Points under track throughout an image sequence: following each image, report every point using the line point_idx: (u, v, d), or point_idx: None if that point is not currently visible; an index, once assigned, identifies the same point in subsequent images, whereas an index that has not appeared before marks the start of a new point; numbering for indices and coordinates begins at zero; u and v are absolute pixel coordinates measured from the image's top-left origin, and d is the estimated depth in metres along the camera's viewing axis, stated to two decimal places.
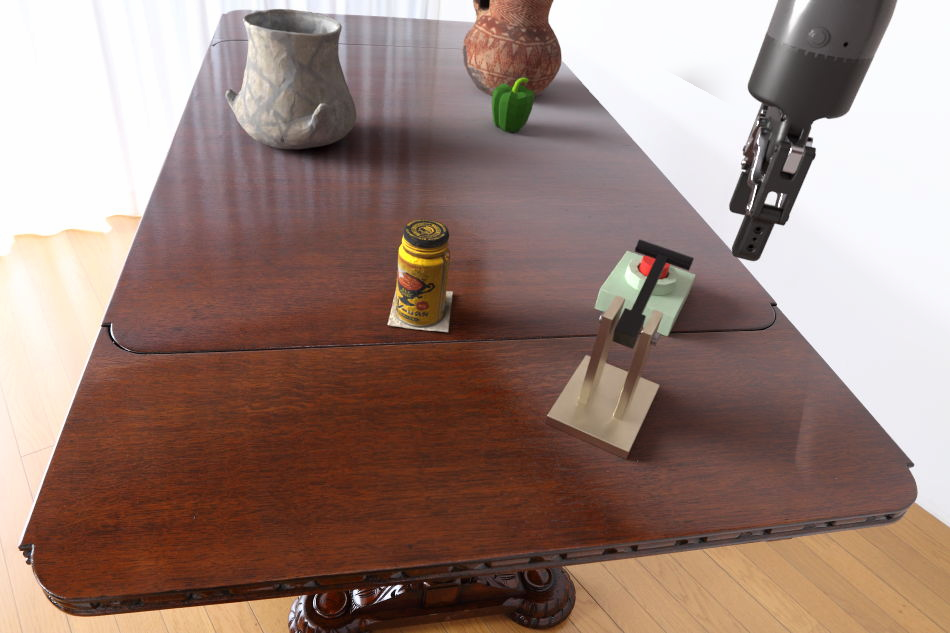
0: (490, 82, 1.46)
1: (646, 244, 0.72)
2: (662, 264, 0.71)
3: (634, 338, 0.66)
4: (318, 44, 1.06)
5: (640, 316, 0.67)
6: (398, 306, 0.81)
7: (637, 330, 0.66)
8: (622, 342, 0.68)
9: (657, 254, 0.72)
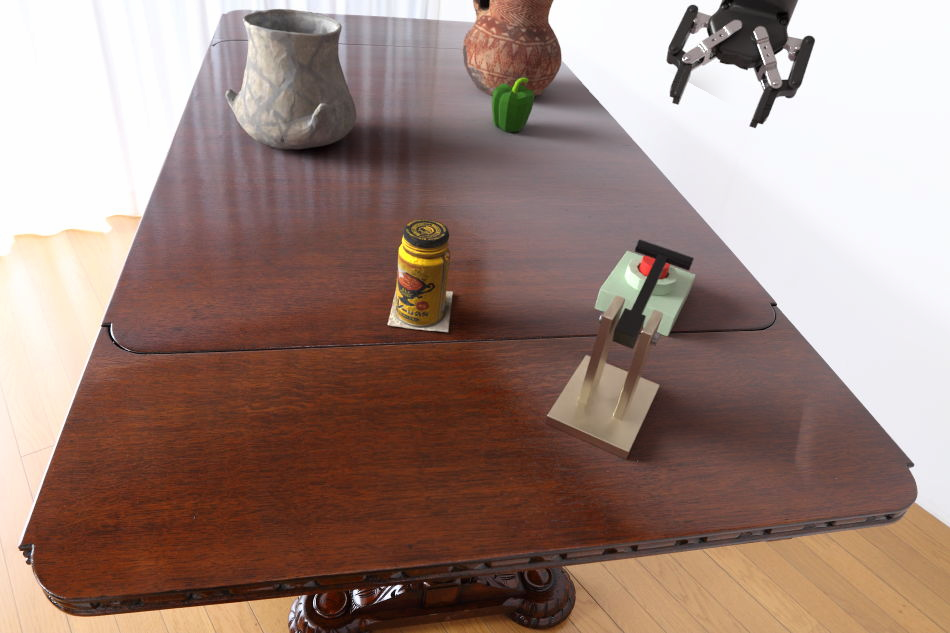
0: (490, 82, 1.46)
1: (646, 244, 0.72)
2: (662, 264, 0.71)
3: (634, 338, 0.66)
4: (318, 44, 1.06)
5: (640, 316, 0.67)
6: (398, 306, 0.81)
7: (637, 330, 0.66)
8: (622, 342, 0.68)
9: (657, 254, 0.72)
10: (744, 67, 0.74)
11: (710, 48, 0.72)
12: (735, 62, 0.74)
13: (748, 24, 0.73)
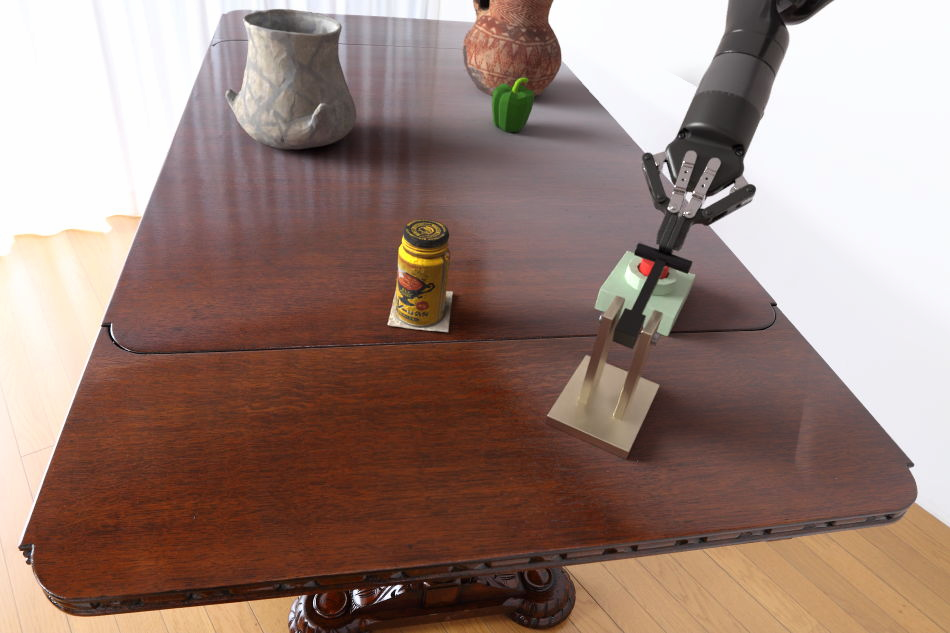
0: (490, 82, 1.46)
1: (645, 247, 0.73)
2: (662, 267, 0.71)
3: (634, 337, 0.66)
4: (318, 44, 1.06)
5: (640, 316, 0.67)
6: (398, 306, 0.81)
7: (637, 329, 0.66)
8: (622, 342, 0.68)
9: (656, 257, 0.72)
10: None
11: (686, 187, 0.72)
12: (692, 190, 0.73)
13: (704, 154, 0.72)
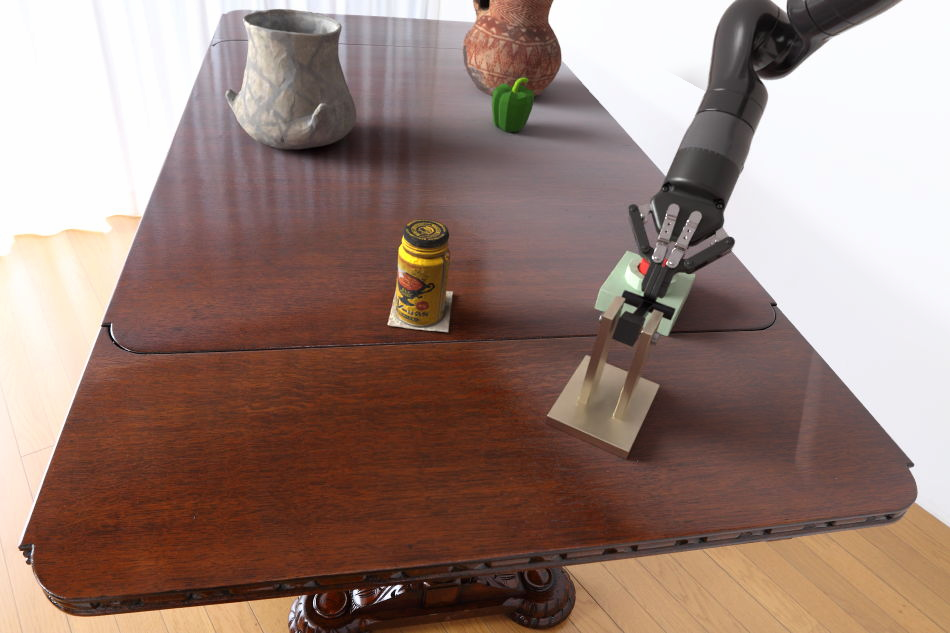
0: (490, 82, 1.46)
1: None
2: (649, 305, 0.75)
3: (638, 327, 0.66)
4: (318, 44, 1.06)
5: (641, 317, 0.68)
6: (398, 306, 0.81)
7: (641, 322, 0.67)
8: (623, 337, 0.67)
9: (643, 300, 0.76)
10: None
11: (669, 239, 0.76)
12: (675, 240, 0.78)
13: (686, 207, 0.76)
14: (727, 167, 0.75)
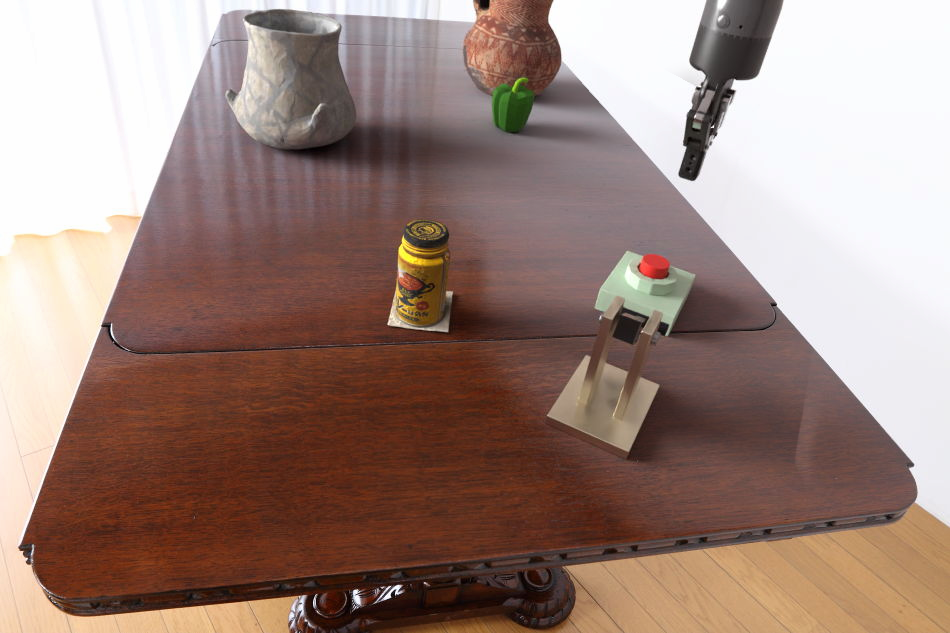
0: (490, 82, 1.46)
1: (626, 308, 0.78)
2: (644, 318, 0.75)
3: (640, 324, 0.66)
4: (318, 44, 1.06)
5: (640, 318, 0.68)
6: (398, 306, 0.81)
7: (641, 321, 0.67)
8: (623, 335, 0.67)
9: (637, 315, 0.77)
10: None
11: (718, 127, 0.77)
12: None
13: (727, 88, 0.75)
14: None
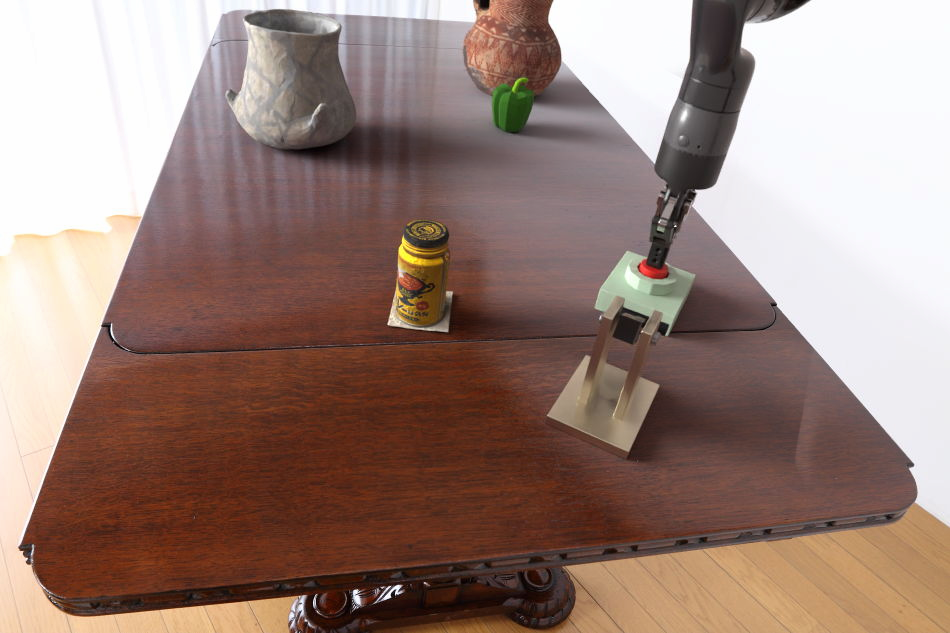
0: (490, 82, 1.46)
1: (626, 308, 0.78)
2: (644, 318, 0.75)
3: (640, 324, 0.66)
4: (318, 44, 1.06)
5: (640, 318, 0.68)
6: (398, 306, 0.81)
7: (641, 321, 0.67)
8: (623, 335, 0.67)
9: (637, 315, 0.77)
10: None
11: (681, 225, 0.84)
12: None
13: (688, 192, 0.82)
14: None
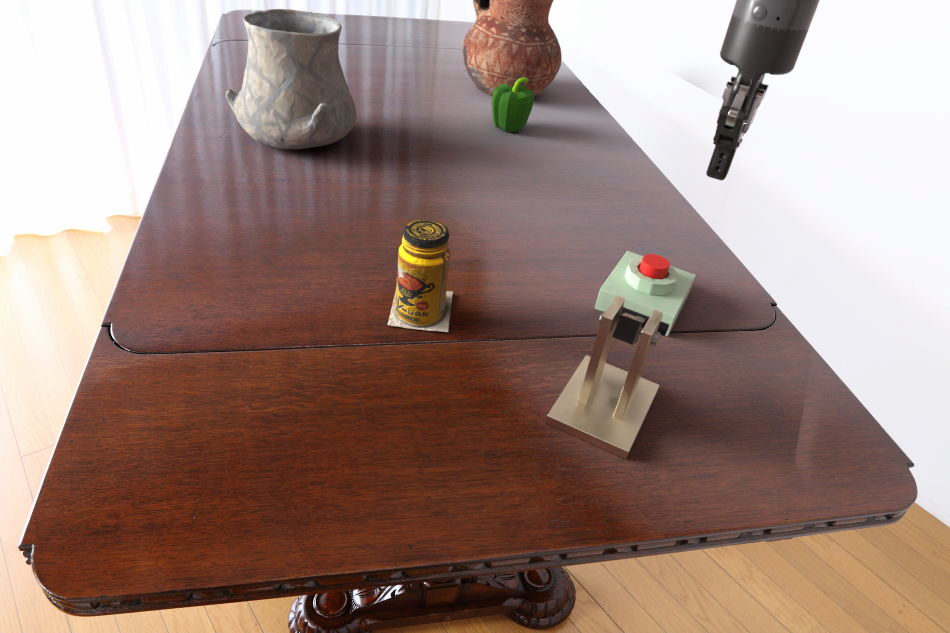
0: (490, 82, 1.46)
1: (626, 308, 0.78)
2: (644, 318, 0.75)
3: (640, 324, 0.66)
4: (318, 44, 1.06)
5: (640, 318, 0.68)
6: (398, 306, 0.81)
7: (641, 321, 0.67)
8: (623, 335, 0.67)
9: (637, 315, 0.77)
10: None
11: (749, 124, 0.73)
12: None
13: (759, 83, 0.71)
14: None
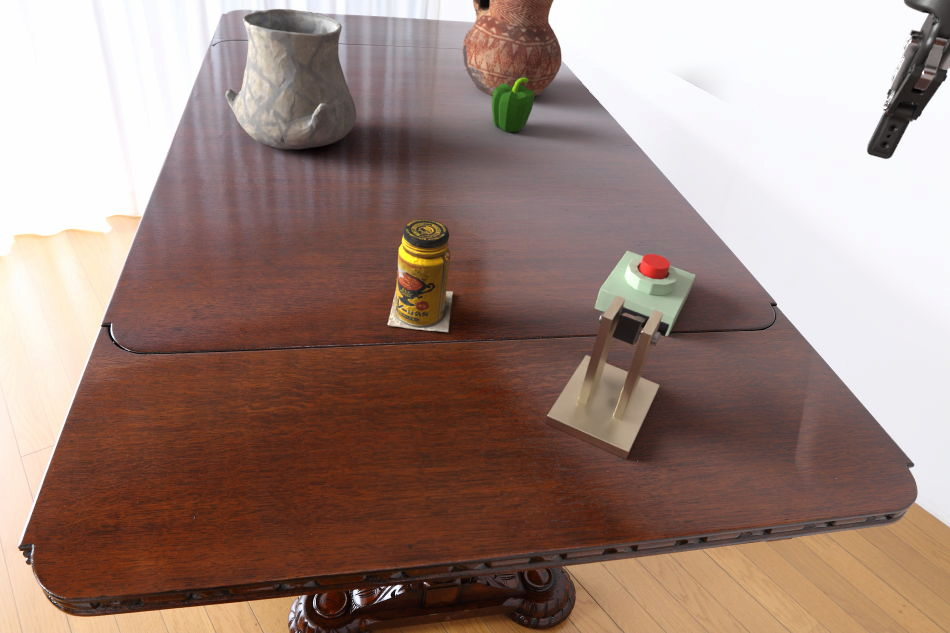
0: (490, 82, 1.46)
1: (626, 308, 0.78)
2: (644, 318, 0.75)
3: (640, 324, 0.66)
4: (318, 44, 1.06)
5: (640, 318, 0.68)
6: (398, 306, 0.81)
7: (641, 321, 0.67)
8: (623, 335, 0.67)
9: (637, 315, 0.77)
10: None
11: None
12: None
13: None
14: None
